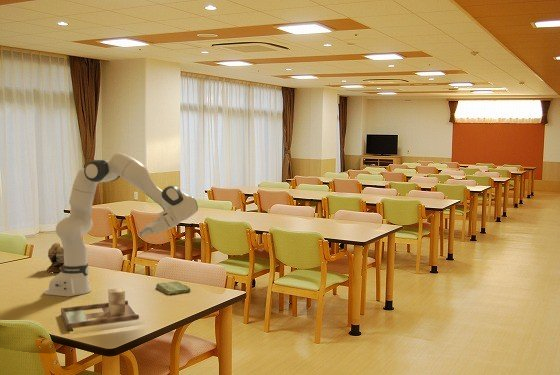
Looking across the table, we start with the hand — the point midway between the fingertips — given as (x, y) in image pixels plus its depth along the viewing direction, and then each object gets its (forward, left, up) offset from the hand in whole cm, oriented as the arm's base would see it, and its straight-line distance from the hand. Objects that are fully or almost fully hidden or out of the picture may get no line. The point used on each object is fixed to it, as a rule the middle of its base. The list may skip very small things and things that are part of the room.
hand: (140, 235), depth 262 cm
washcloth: (+7, +32, -35) cm, 48 cm away
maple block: (-7, -13, -33) cm, 36 cm away
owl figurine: (-70, +67, -34) cm, 103 cm away
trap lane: (-13, -16, -34) cm, 40 cm away
